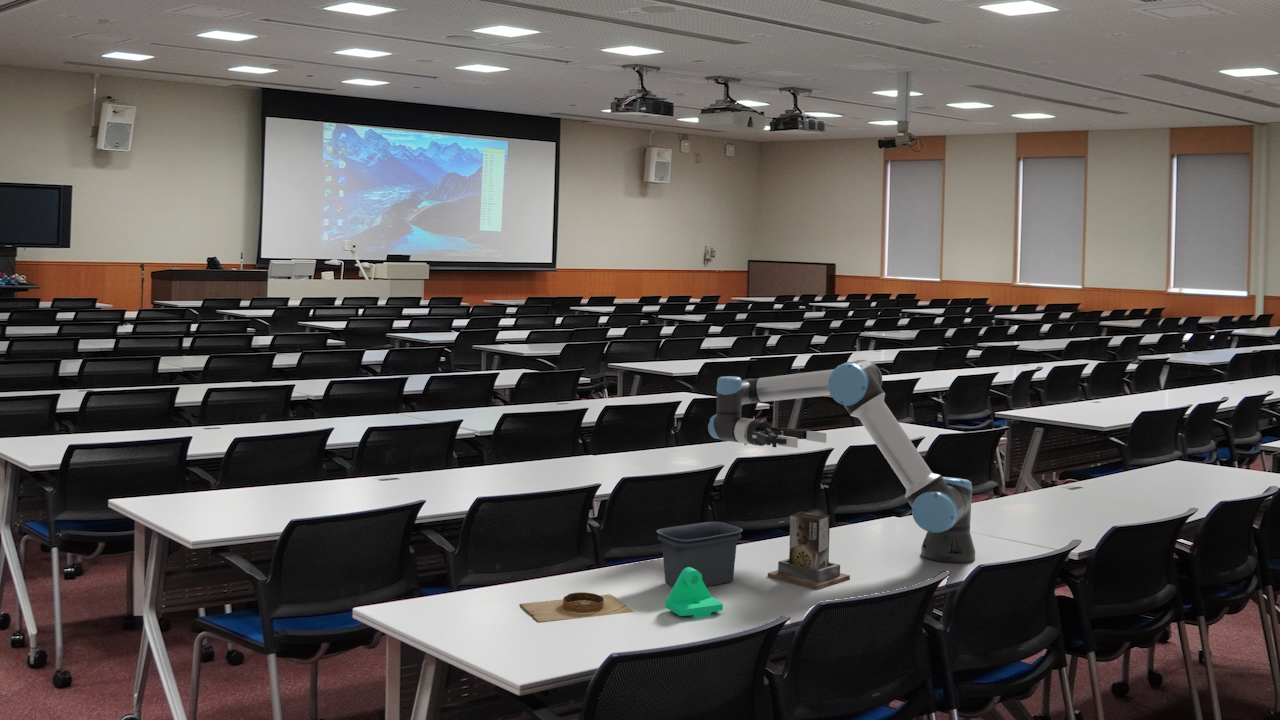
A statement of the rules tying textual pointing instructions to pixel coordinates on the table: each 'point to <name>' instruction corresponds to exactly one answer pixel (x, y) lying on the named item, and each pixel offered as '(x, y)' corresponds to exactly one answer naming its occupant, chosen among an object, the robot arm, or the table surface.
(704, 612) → the camera mount
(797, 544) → the coffee box
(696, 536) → the storage bin
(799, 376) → the robot arm
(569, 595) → the board
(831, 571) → the socket
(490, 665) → the table surface
